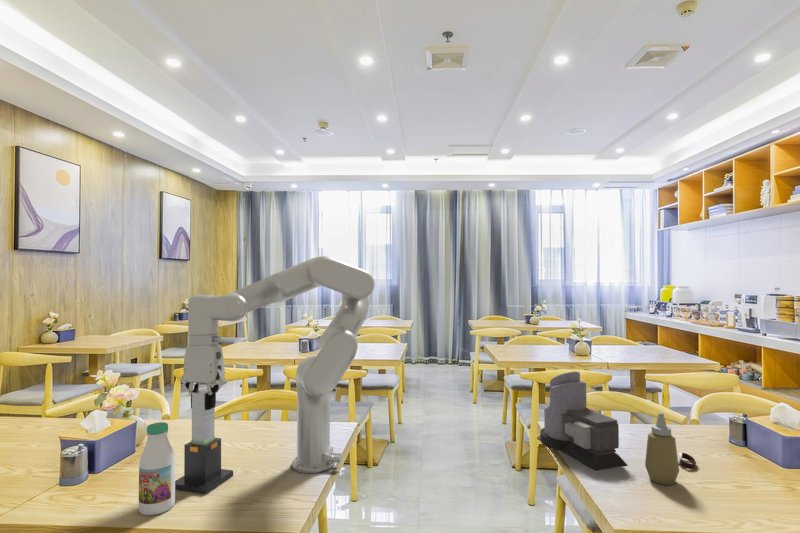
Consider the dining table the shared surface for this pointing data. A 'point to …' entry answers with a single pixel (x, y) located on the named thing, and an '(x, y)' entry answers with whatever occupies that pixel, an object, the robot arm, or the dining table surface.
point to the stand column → (201, 419)
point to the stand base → (202, 468)
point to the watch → (685, 464)
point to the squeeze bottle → (661, 454)
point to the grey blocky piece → (579, 426)
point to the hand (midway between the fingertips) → (203, 407)
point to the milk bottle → (157, 472)
